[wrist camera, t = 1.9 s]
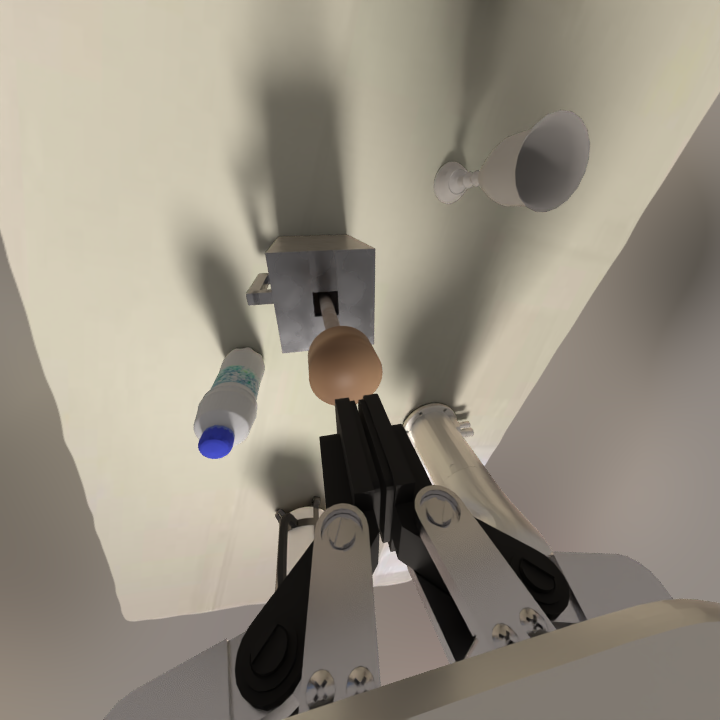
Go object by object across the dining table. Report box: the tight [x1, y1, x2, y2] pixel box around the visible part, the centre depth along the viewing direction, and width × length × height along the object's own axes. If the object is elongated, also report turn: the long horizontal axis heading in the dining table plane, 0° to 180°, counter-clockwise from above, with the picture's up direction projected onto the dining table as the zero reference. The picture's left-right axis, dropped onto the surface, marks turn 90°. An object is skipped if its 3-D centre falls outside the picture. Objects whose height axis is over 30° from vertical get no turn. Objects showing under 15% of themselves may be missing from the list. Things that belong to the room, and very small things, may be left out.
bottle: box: [194, 347, 265, 459], centre depth 37 cm, size 7×7×20 cm
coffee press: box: [275, 496, 324, 591], centre depth 54 cm, size 17×16×30 cm
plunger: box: [308, 291, 382, 405], centre depth 23 cm, size 7×7×19 cm
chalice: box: [434, 110, 590, 212], centre depth 31 cm, size 7×7×18 cm
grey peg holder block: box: [246, 234, 375, 353], centre depth 33 cm, size 13×10×17 cm
